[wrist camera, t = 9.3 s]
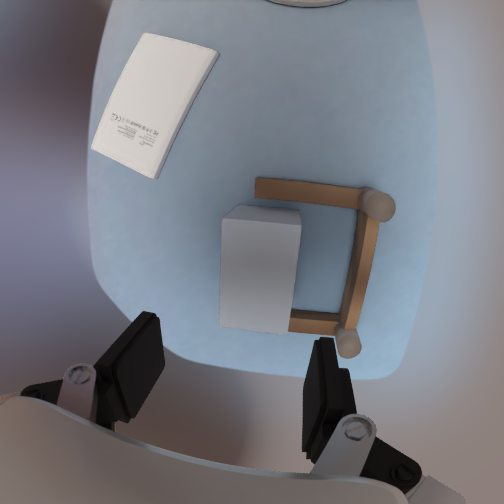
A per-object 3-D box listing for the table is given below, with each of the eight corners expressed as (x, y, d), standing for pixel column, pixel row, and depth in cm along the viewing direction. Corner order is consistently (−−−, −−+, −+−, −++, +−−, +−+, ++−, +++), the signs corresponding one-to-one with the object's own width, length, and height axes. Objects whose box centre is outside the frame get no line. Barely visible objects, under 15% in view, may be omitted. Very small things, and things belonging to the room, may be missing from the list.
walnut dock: (258, 174, 22) (250, 176, 18) (378, 188, 21) (397, 195, 17) (247, 320, 27) (239, 348, 22) (350, 330, 25) (358, 358, 21)
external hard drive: (221, 56, 20) (160, 178, 24) (150, 37, 20) (98, 147, 24) (216, 50, 18) (151, 180, 22) (142, 31, 18) (88, 147, 22)
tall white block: (239, 204, 23) (221, 218, 18) (299, 209, 23) (301, 225, 17) (234, 291, 26) (219, 326, 20) (289, 297, 25) (287, 334, 20)
